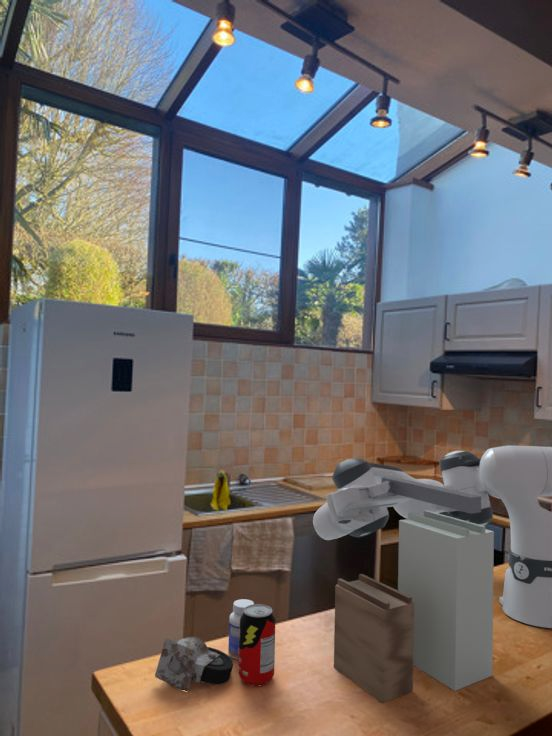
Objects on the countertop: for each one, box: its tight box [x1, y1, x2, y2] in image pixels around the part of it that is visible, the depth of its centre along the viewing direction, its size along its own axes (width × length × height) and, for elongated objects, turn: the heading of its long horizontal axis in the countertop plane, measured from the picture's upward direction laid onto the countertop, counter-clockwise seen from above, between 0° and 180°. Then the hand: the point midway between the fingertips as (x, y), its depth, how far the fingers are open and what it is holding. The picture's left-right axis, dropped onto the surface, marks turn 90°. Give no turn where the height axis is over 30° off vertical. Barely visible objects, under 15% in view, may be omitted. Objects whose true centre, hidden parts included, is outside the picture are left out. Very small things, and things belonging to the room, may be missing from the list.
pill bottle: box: [227, 598, 255, 661], centre depth 104 cm, size 5×5×10 cm
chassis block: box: [333, 573, 414, 704], centre depth 97 cm, size 7×13×16 cm, turn 32°
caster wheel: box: [154, 636, 234, 692], centre depth 96 cm, size 7×11×10 cm
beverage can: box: [238, 603, 276, 687], centre depth 96 cm, size 6×6×12 cm
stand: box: [397, 510, 495, 692], centre depth 102 cm, size 10×14×27 cm
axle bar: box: [382, 476, 481, 514], centre depth 107 cm, size 3×23×3 cm, turn 32°
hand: (397, 483), depth 114 cm, fingers closed on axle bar, 3 cm apart
